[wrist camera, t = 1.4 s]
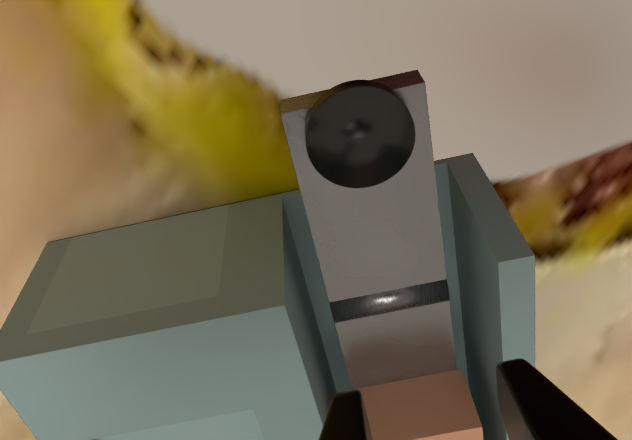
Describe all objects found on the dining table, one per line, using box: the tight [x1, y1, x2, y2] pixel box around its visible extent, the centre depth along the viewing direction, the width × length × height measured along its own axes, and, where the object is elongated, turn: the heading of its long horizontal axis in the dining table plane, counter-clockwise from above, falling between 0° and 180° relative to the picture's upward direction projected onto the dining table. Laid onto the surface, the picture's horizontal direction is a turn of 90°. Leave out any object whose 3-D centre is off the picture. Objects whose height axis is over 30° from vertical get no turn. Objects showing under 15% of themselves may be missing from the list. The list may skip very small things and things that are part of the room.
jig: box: [0, 153, 535, 440], centre depth 24 cm, size 18×16×6 cm
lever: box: [280, 70, 457, 389], centre depth 22 cm, size 19×4×2 cm, turn 12°
